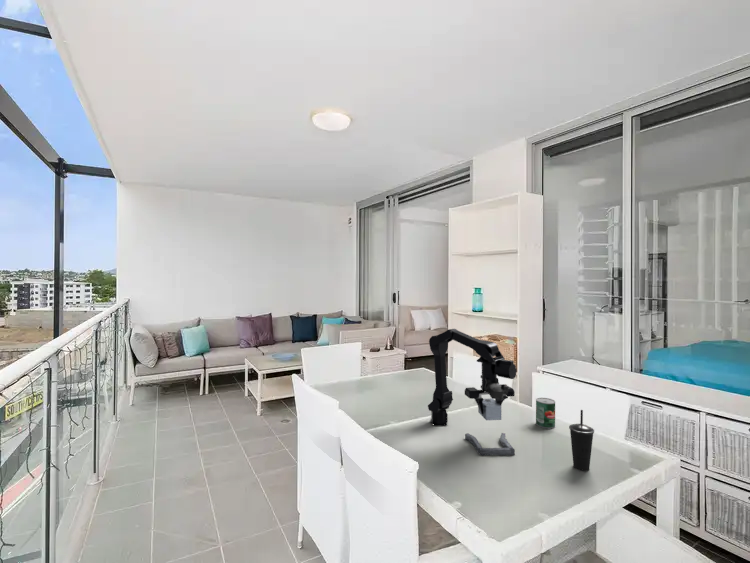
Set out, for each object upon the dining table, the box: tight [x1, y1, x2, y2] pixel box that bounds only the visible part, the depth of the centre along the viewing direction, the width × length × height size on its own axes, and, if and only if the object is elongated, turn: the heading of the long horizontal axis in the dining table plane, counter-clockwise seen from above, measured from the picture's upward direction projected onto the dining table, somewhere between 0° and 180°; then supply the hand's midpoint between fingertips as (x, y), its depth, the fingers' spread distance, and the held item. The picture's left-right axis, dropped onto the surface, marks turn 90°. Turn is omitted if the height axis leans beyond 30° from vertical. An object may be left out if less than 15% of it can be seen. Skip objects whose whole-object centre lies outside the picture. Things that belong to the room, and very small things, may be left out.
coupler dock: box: [464, 432, 516, 456], centre depth 148 cm, size 17×15×2 cm
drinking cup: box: [568, 409, 595, 472], centre depth 131 cm, size 8×8×20 cm
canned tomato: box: [535, 397, 556, 429], centre depth 168 cm, size 8×8×11 cm
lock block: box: [477, 397, 502, 421], centre depth 151 cm, size 6×9×6 cm, turn 4°
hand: (489, 413), depth 151 cm, fingers closed on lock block, 6 cm apart
